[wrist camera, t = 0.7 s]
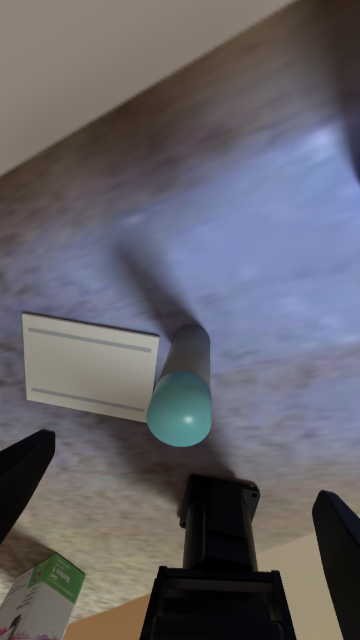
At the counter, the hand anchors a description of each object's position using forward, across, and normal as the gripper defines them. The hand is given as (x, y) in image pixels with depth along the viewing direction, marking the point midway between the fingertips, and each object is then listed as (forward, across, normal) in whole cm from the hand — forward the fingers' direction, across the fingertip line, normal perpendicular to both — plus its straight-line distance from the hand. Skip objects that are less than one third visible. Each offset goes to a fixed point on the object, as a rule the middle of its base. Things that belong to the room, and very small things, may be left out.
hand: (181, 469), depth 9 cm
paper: (+12, +8, +4) cm, 15 cm away
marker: (+12, 0, 0) cm, 12 cm away
